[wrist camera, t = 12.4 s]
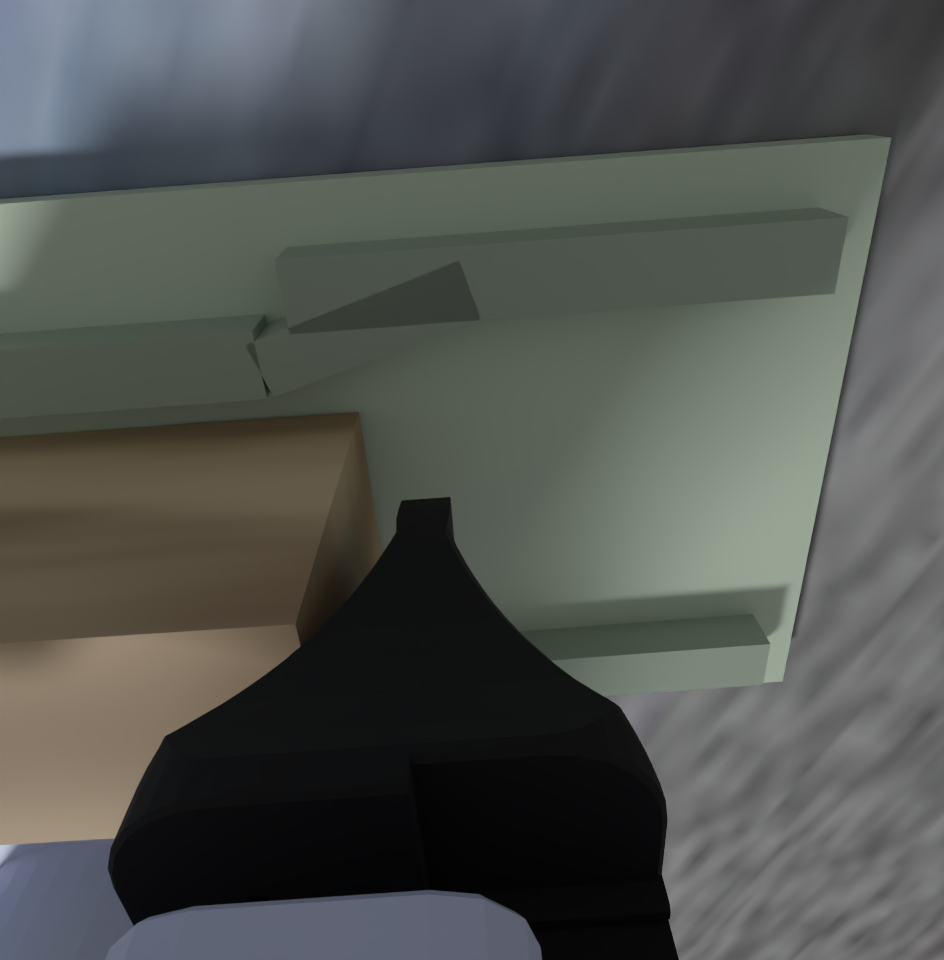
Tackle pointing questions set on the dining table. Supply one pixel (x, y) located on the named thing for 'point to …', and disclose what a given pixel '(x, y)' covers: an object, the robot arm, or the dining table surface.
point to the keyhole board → (500, 365)
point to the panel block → (158, 593)
